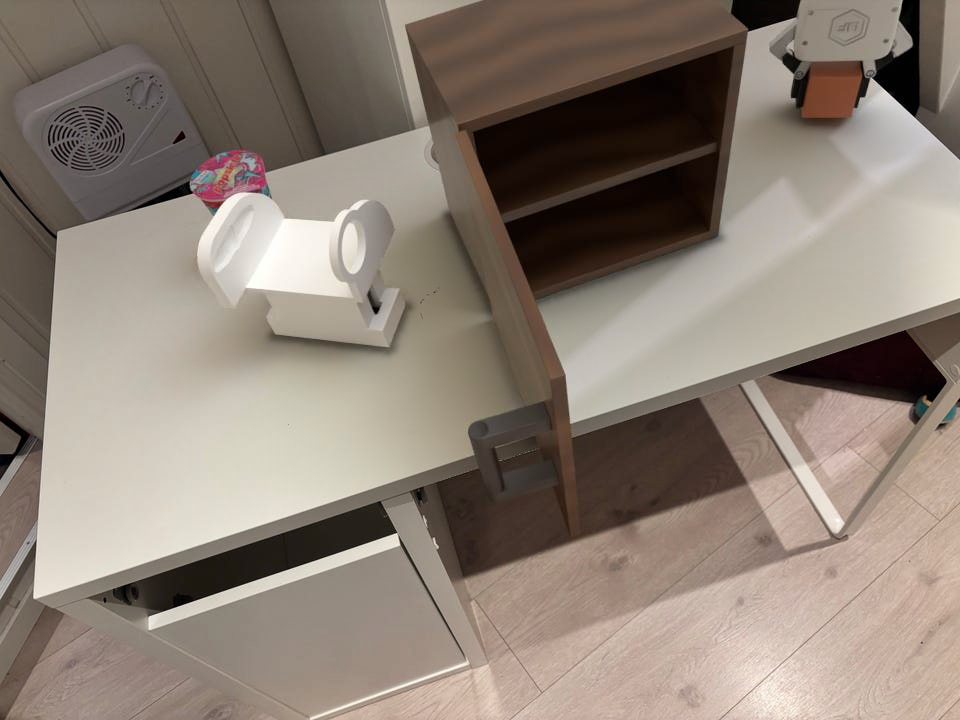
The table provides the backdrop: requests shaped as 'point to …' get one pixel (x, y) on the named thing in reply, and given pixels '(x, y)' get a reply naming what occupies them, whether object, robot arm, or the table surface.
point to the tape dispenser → (305, 268)
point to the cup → (229, 178)
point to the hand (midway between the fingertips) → (825, 100)
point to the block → (831, 89)
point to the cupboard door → (519, 365)
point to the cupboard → (585, 125)
